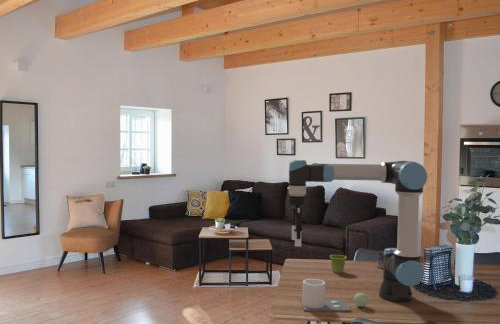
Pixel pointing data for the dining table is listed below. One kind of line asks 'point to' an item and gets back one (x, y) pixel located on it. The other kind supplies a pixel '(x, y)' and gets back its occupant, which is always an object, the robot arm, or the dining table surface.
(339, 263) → the plant pot
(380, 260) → the geode
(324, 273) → the dining table surface
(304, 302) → the tube stand
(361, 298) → the sage ball
